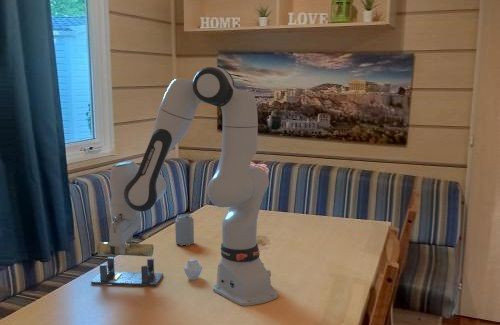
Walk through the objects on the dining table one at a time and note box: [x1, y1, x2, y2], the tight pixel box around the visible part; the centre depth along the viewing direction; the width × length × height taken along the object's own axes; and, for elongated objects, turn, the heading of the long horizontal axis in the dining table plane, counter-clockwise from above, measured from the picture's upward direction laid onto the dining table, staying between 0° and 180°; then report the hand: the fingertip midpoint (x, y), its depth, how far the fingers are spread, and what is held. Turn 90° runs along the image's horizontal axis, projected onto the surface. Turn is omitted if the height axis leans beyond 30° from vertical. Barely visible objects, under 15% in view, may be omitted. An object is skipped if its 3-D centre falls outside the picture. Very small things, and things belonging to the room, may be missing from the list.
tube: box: [96, 241, 154, 257], centre depth 167 cm, size 18×4×4 cm, turn 85°
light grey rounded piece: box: [183, 258, 203, 281], centre depth 170 cm, size 6×6×7 cm
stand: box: [90, 256, 164, 288], centre depth 168 cm, size 22×9×6 cm, turn 85°
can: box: [174, 213, 195, 246], centre depth 205 cm, size 8×8×12 cm
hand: (125, 250), depth 167 cm, fingers closed on tube, 4 cm apart
